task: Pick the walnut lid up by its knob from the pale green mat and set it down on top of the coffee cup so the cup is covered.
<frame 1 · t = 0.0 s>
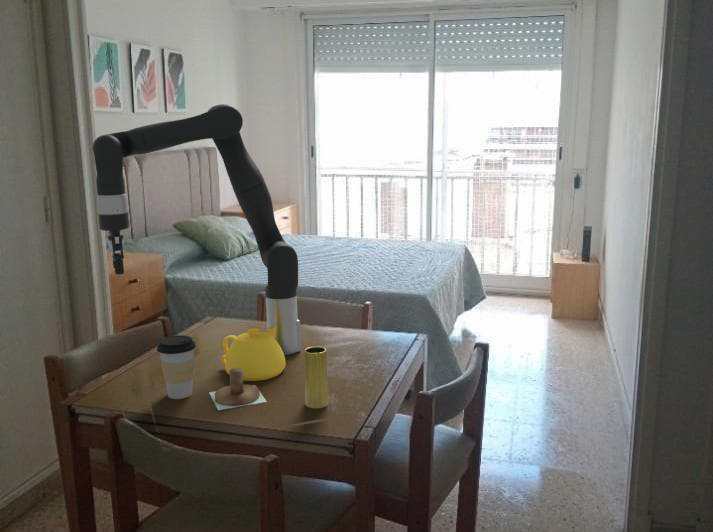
hand: (118, 271, 185), 29 cm above the table, fingers open, 8 cm apart
lid: (237, 396, 171), point 1 cm above the table, touching mat
mat: (237, 399, 172), on the table
teapot: (255, 371, 191), on the table
coffee cup: (180, 397, 174), on the table
vase: (317, 406, 167), on the table
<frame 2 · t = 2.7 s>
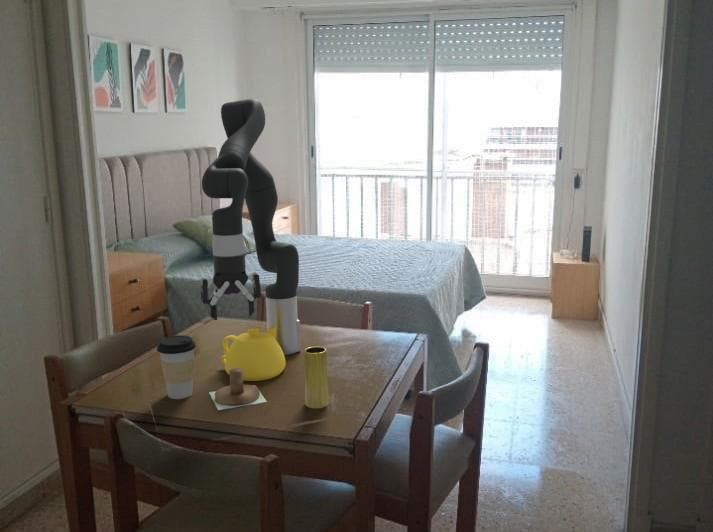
hand: (232, 317, 167), 21 cm above the table, fingers open, 8 cm apart
nothing on the table moved.
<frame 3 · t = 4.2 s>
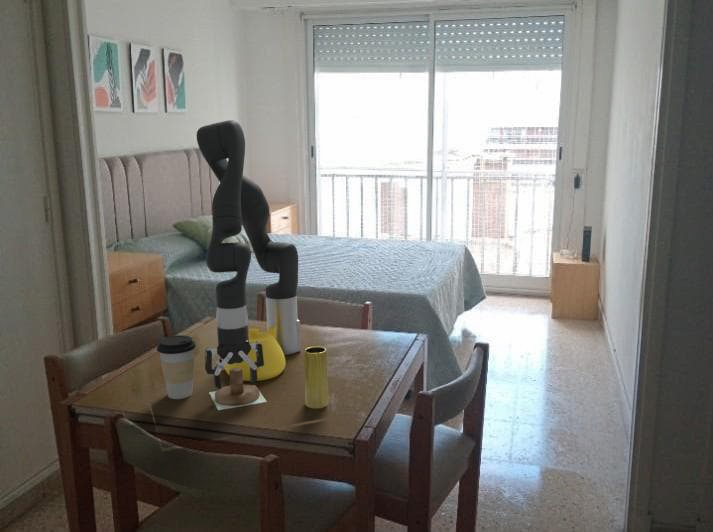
hand: (235, 385, 171), 4 cm above the table, fingers open, 8 cm apart
nothing on the table moved.
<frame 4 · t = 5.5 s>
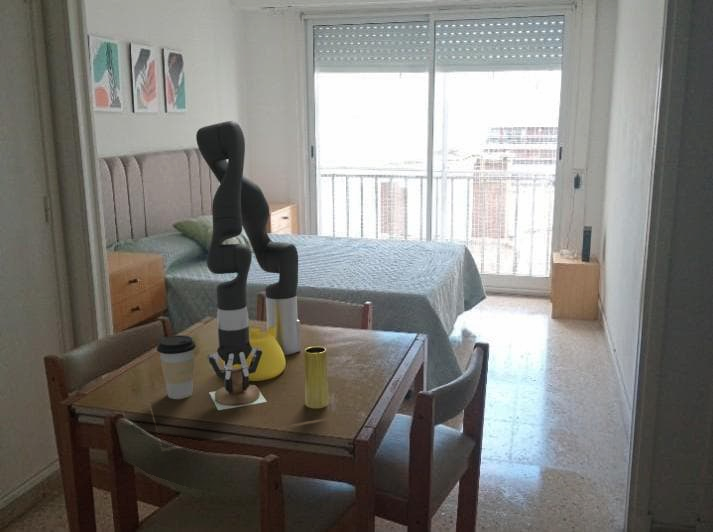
hand: (237, 390, 171), 2 cm above the table, fingers closed on lid, 3 cm apart
lid: (237, 396, 171), point 1 cm above the table, touching gripper, mat
everything else where it was.
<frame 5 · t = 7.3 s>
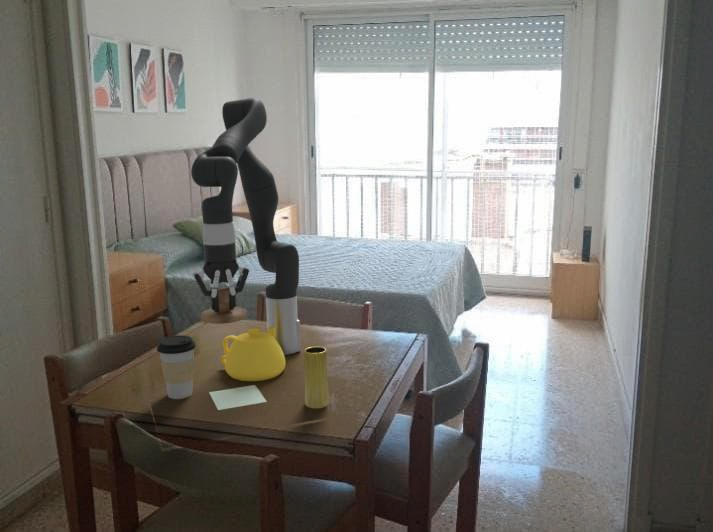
hand: (223, 310, 167), 23 cm above the table, fingers closed on lid, 3 cm apart
lid: (224, 317, 167), point 21 cm above the table, touching gripper
everything else where it was.
when the fingers open (18 cm above the table, at t = 9.5 s): lid drops 1 cm, resting on coffee cup.
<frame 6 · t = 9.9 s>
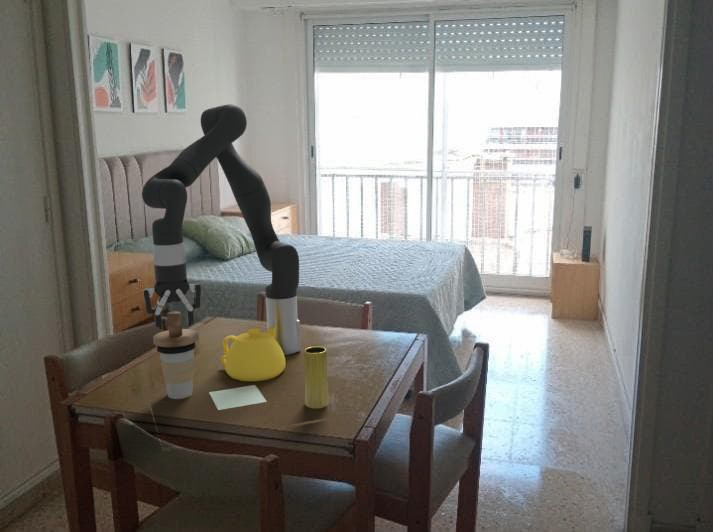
hand: (174, 326, 170), 18 cm above the table, fingers open, 6 cm apart
lid: (176, 340, 171), point 15 cm above the table, touching coffee cup
coffee cup: (180, 397, 174), on the table, touching lid
everything else where it was.
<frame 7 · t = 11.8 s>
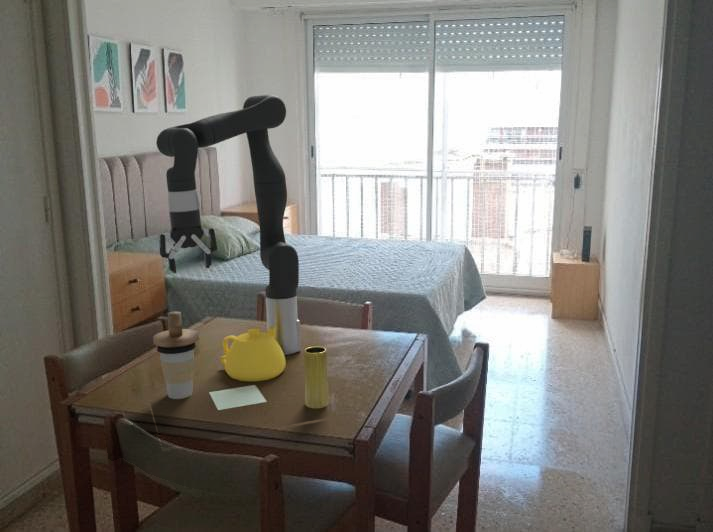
hand: (190, 270, 177), 31 cm above the table, fingers open, 8 cm apart
nothing on the table moved.
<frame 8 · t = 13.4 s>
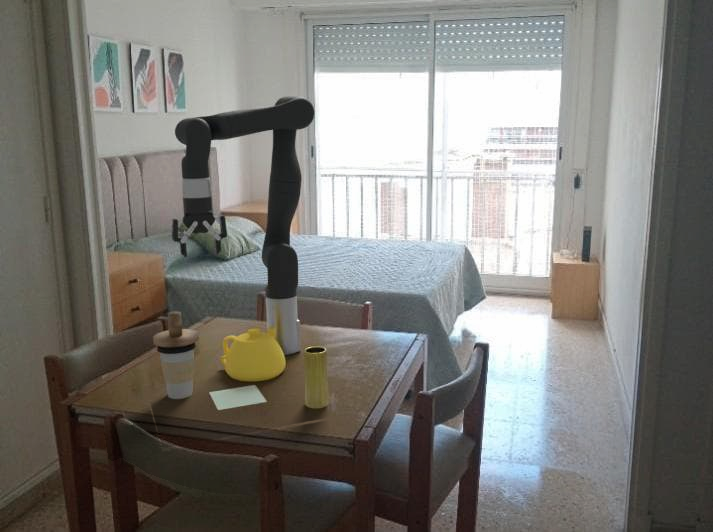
hand: (201, 255, 184), 33 cm above the table, fingers open, 8 cm apart
nothing on the table moved.
at the end: lid 0.1 cm from the coffee cup (horizontally); lid point 15.0 cm above the table; lid tilted 0° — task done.
